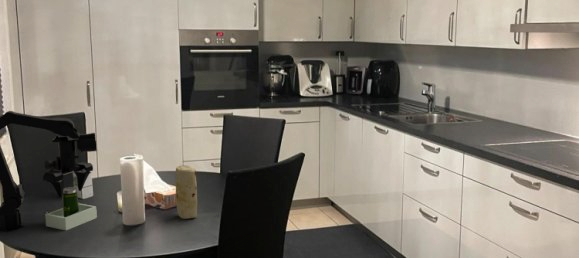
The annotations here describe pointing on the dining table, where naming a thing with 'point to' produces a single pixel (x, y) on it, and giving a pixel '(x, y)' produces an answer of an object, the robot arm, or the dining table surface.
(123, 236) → the dining table surface
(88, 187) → the syrup box
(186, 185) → the food model
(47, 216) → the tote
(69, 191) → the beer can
